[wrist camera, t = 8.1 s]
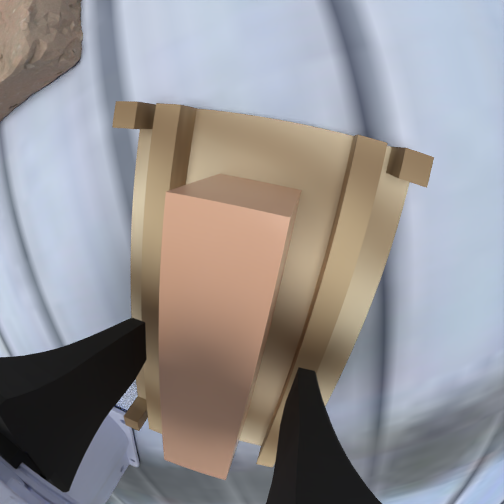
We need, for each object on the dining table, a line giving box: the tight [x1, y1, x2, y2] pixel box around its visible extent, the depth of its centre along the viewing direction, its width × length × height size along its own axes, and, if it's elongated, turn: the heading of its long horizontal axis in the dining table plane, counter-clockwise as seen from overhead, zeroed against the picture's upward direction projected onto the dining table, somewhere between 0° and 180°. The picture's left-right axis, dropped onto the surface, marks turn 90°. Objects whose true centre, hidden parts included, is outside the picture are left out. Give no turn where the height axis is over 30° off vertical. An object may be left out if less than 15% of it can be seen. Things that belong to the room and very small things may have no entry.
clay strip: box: [159, 174, 302, 480], centre depth 12 cm, size 13×3×4 cm, turn 170°
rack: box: [113, 101, 434, 467], centre depth 14 cm, size 18×11×3 cm, turn 170°
